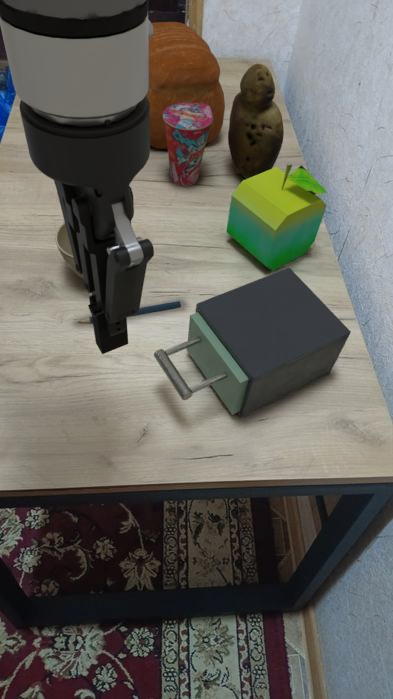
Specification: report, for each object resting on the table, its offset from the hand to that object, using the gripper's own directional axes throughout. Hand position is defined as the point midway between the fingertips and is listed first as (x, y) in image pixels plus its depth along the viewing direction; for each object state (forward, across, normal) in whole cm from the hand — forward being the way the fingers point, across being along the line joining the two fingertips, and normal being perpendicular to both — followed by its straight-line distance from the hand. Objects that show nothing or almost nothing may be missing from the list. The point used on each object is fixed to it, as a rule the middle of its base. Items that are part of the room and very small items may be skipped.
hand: (112, 343), depth 47 cm
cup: (+17, +42, -33) cm, 56 cm away
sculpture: (+17, +37, -44) cm, 60 cm away
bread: (+17, +60, -40) cm, 74 cm away
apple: (+17, +19, -36) cm, 44 cm away
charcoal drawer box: (+16, 0, -21) cm, 27 cm away
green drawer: (+16, 0, -16) cm, 22 cm away
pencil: (+17, +16, -9) cm, 25 cm away
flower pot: (+17, +26, -8) cm, 32 cm away
